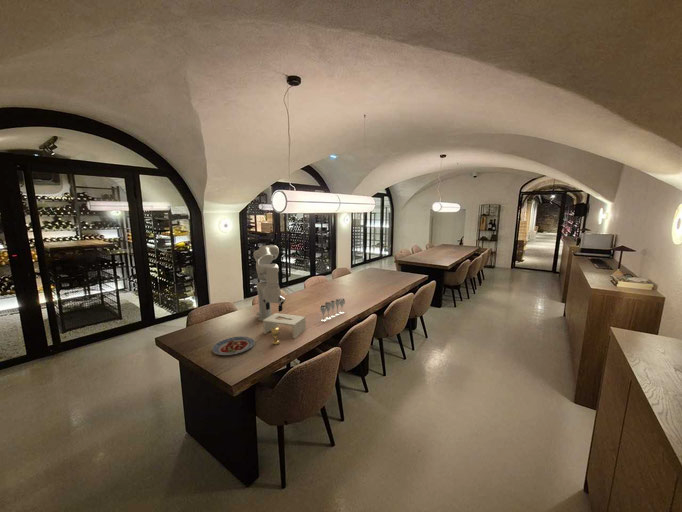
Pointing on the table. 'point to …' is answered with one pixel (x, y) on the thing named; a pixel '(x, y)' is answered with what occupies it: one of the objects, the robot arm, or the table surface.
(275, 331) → the brass capped stopper
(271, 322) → the keyhole shelf
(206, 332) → the table surface
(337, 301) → the goblet set
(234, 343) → the ceramic plate
